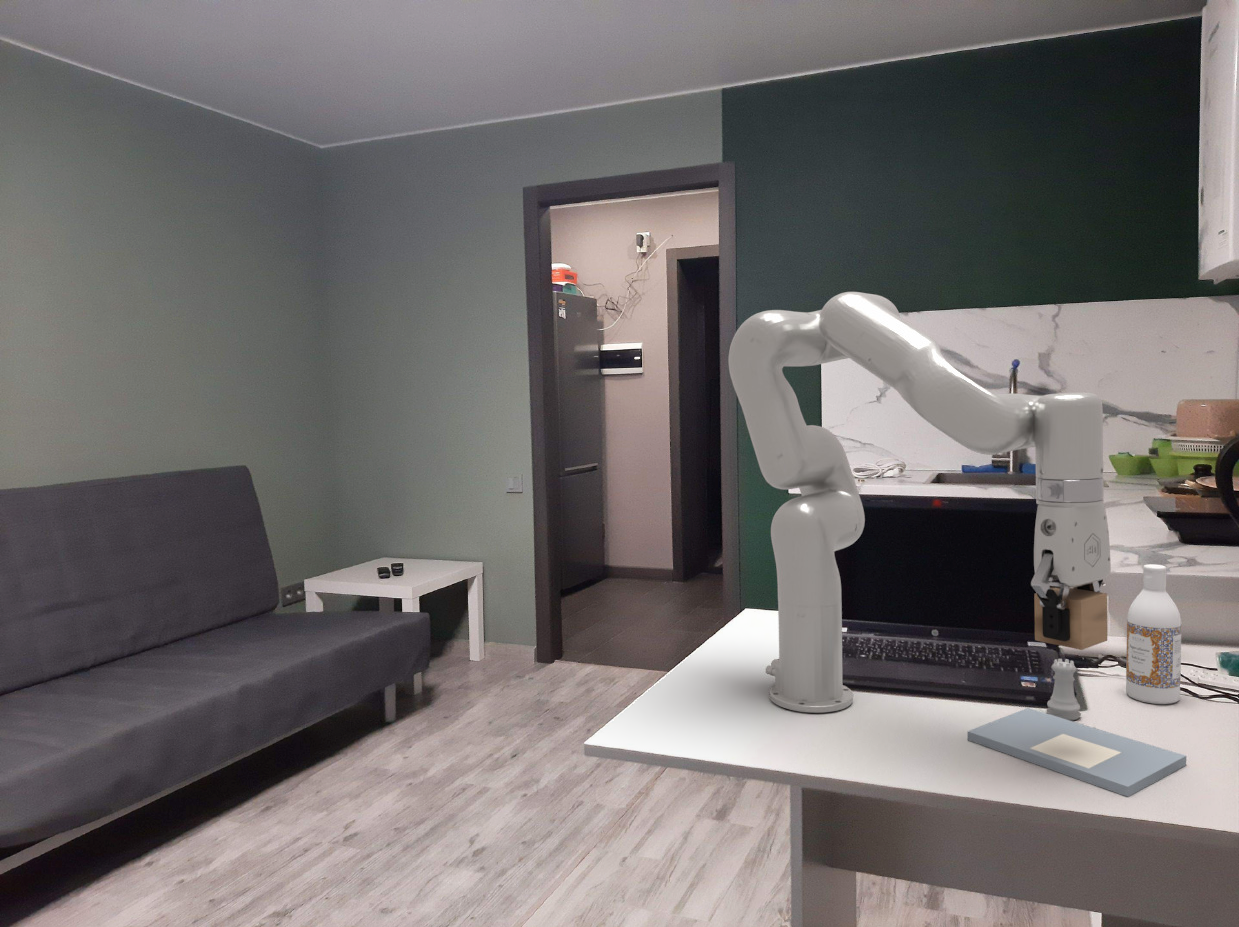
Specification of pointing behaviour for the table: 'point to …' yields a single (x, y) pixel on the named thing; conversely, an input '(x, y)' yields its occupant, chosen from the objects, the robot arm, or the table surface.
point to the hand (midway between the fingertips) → (1071, 632)
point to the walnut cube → (1078, 619)
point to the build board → (1079, 750)
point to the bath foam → (1153, 642)
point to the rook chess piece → (1064, 692)
